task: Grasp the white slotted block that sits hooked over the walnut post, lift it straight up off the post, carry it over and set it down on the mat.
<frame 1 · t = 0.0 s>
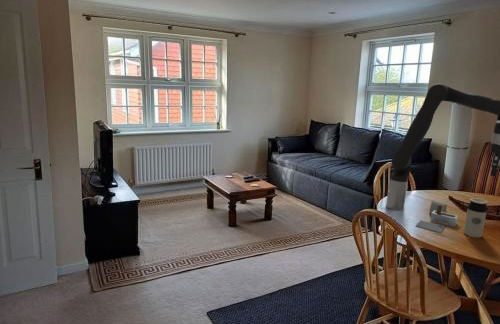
hand: (494, 174, 182), 29 cm above the table, fingers open, 8 cm apart
travel mug: (472, 234, 181), on the table
mat: (430, 226, 189), on the table
post: (437, 220, 198), on the table
white slotted block: (443, 222, 196), on the table
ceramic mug: (436, 213, 209), on the table
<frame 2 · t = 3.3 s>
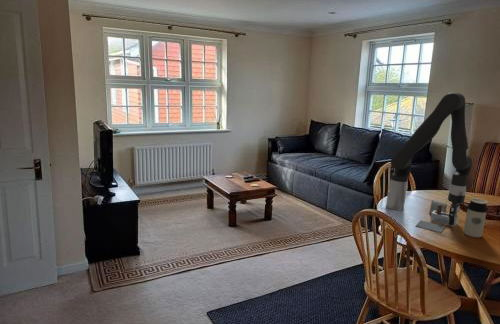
hand: (452, 222, 193), 1 cm above the table, fingers closed on white slotted block, 5 cm apart
white slotted block: (443, 222, 196), on the table, touching gripper
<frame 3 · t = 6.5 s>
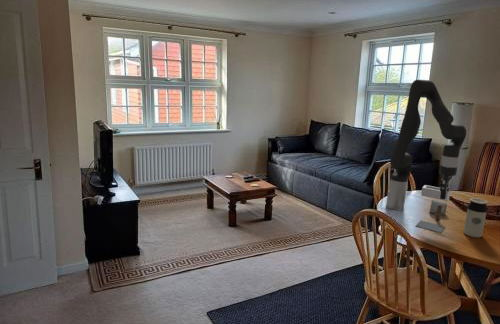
hand: (443, 197, 183), 17 cm above the table, fingers closed on white slotted block, 5 cm apart
white slotted block: (435, 197, 185), point 16 cm above the table, touching gripper
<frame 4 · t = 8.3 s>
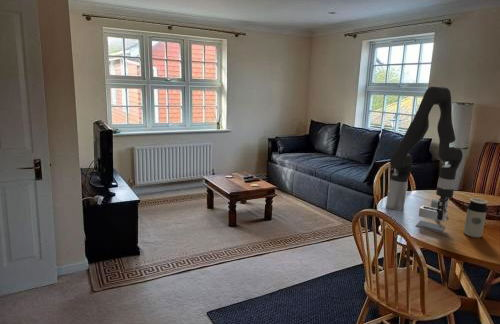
hand: (440, 218, 185), 6 cm above the table, fingers closed on white slotted block, 5 cm apart
white slotted block: (432, 217, 188), point 5 cm above the table, touching gripper
when the fingers open (3 cm above the table, at t = 9.6 s): white slotted block drops 2 cm, resting on mat.
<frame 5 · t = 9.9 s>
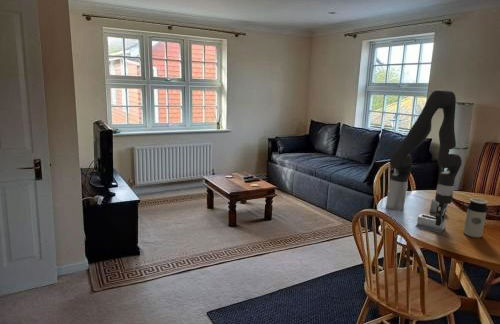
hand: (439, 222, 186), 3 cm above the table, fingers open, 8 cm apart
white slotted block: (430, 226, 189), resting on mat
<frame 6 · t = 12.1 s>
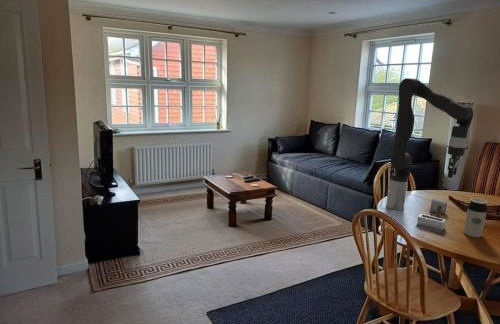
hand: (451, 176, 188), 26 cm above the table, fingers open, 8 cm apart
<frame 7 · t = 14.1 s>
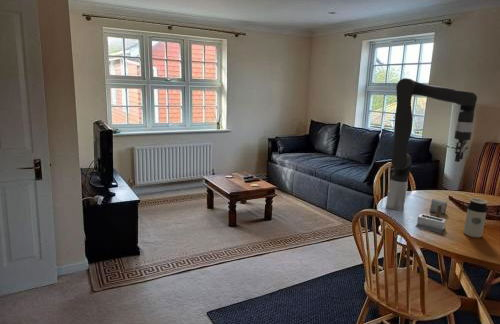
hand: (458, 160, 195), 33 cm above the table, fingers open, 8 cm apart
at the end: white slotted block inside the target area on the mat (0.2 cm from its centre), point 0.4 cm above the mat's base; white slotted block touching mat; the gripper is holding nothing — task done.
